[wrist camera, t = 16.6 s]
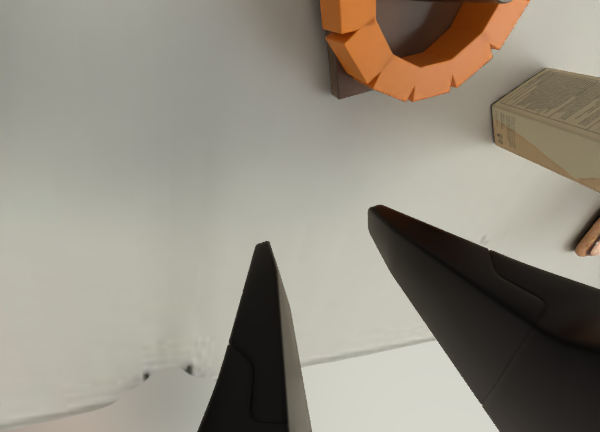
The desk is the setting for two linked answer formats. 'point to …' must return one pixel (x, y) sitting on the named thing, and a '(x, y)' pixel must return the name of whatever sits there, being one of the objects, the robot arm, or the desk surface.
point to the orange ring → (423, 66)
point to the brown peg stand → (402, 33)
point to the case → (590, 242)
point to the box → (554, 124)
